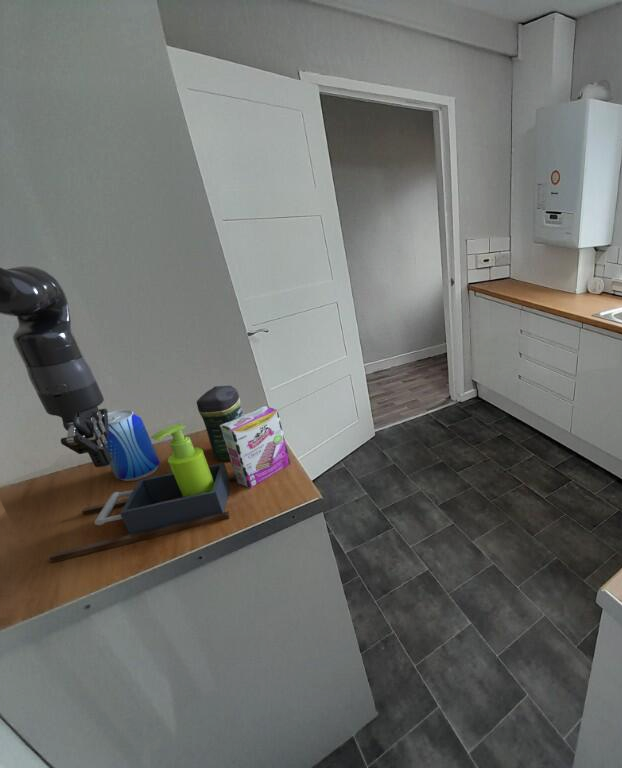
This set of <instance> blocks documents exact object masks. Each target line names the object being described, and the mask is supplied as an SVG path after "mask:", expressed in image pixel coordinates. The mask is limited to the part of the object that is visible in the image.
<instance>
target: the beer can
mask: <svg viewBox="0 0 622 768" xmlns="http://www.w3.org/2000/svg"><path fill="white" fill-rule="evenodd" d="M108 427H109V437H108V438H106V441H107V444H106V447H107V449H108V452H109V454H110V456H111V458H112V461H111V462H110V464H109V466H110V468H111V470H112V472H113V474H114V476H115V478H116V479H118V480H121V481H123V482H134V481H139V480H140V479H146V478H148V477H150V476H151V475H153V474H154V473H155V472H156V471H158V468H159V467H160V464H161V460H160V458H159V456H158V453H157V452H156V449H155V447H154V444H153V442H152V440H151V437H150V435H149V433H148V431H147V428H146V426H145V423H144V421H143V419H142V418H141V417H140V416H138V415H137V414H135V413H134V412H133V411H132V410H130V409H120V410H113V411H110V412H108Z"/></svg>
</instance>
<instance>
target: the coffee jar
mask: <svg viewBox="0 0 622 768" xmlns="http://www.w3.org/2000/svg"><path fill="white" fill-rule="evenodd" d="M196 406H197V411H198V413H199V415H200V416H201V418H202V420H203V423H204V427H205V429H206V434H207V437H208V440H209V443H210V448H211V451H212V455H213V457H214V460H215V461H216V462H220V463H225V462H231V460H230V457H229V453H228V451H227V447H226V444H225V441H224V438H223V434H222V432H221V428H220V425H222V424H224V423H227V422H229V421H231V420H234V419H236V418H238V417H241V416H243V415H244V413H243V409H242V402H241V397H240V394H239V391H238V389H237V388H235V387H234V386H232V385H216V386H213V387H212V388H211V389H209V390H207V391H206V392H204V394H202V395H201V396H200V397H199V398H198V399H197V400H196Z"/></svg>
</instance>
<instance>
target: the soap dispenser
mask: <svg viewBox="0 0 622 768" xmlns="http://www.w3.org/2000/svg"><path fill="white" fill-rule="evenodd" d="M186 427H187V426H186V425H185V424H182V423H176V424H174V425H170V426H168V427H165V428H163V429H161V430H159V431H158V432H156V433H155V434H153V435H151V437H150V439H152V440H156V441H161V440H162V439H164V438H166V437H167V436H169V435H171V436H172V440H171V441H170V442H169V446H170V448H171V451H172V454H171V455H170V456H168V458H167V462H168V465H169V467H170V470H171V473H173V474H174V477H175V479H176V481H177V484H178V486H179V488H180V491H181V493H182V496H181V497H182V498H183V497H187V496H192V495H197V494H201V493H206V492H210V491H212V490H213V486H214V480H213V477H212V474H211V472H210V469H209V466H210V465H209V463H208V461H207V458H206V456H205V453H204V450H203V449H202V448H201V447H197V446H194V445H193V443H192V440H191V438H190V436H184V433H183V431H182V430H184V429H185V428H186Z"/></svg>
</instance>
